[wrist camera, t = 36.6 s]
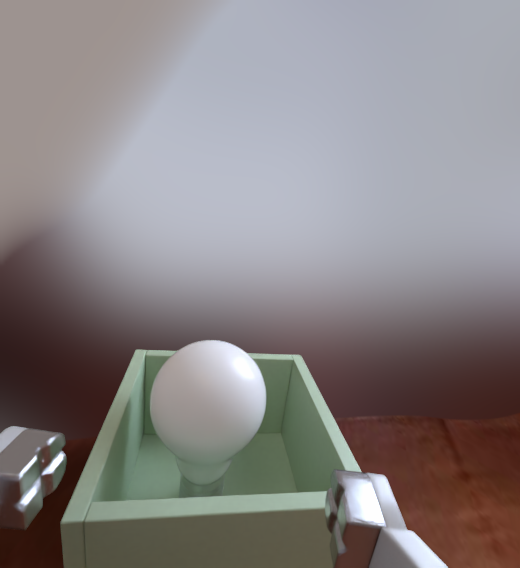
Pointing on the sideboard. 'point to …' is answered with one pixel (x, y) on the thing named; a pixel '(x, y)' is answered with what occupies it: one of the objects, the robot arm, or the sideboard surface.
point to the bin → (218, 509)
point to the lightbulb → (207, 411)
